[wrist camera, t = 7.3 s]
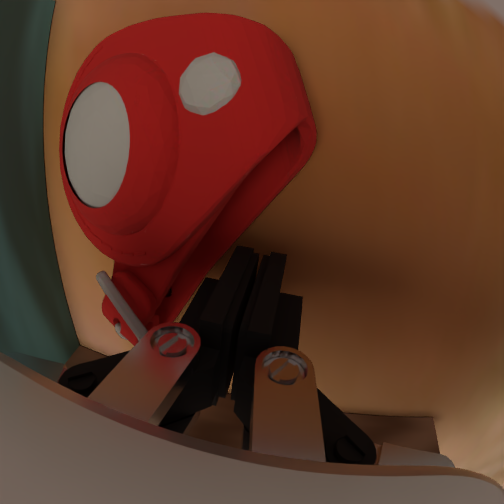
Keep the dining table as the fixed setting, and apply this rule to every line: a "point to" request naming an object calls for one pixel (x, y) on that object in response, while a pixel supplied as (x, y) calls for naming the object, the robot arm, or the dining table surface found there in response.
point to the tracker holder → (178, 152)
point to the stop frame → (42, 246)
